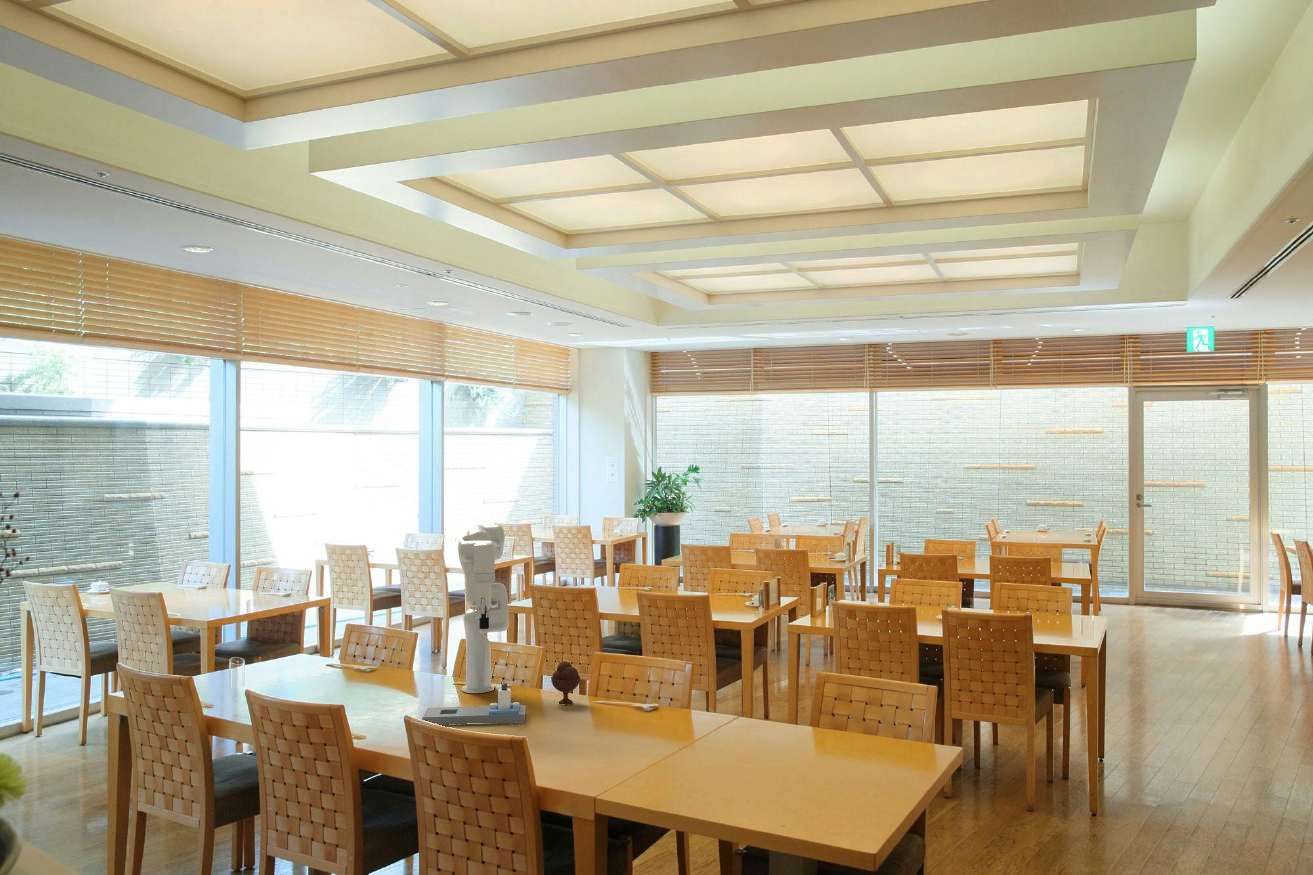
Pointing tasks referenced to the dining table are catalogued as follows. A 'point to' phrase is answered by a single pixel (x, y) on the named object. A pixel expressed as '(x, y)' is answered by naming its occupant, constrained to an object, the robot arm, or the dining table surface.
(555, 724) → the dining table surface
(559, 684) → the ice cream bowl
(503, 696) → the cord plug
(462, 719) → the board
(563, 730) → the dining table surface
